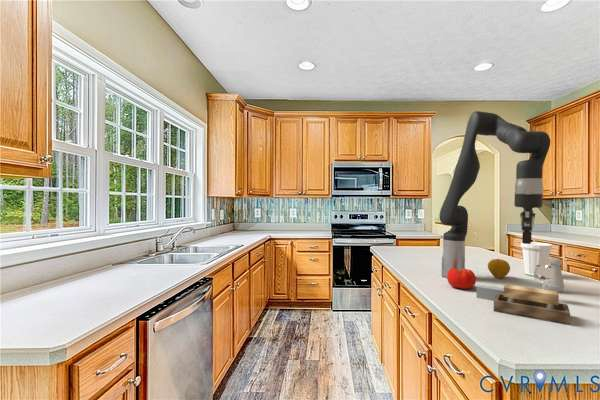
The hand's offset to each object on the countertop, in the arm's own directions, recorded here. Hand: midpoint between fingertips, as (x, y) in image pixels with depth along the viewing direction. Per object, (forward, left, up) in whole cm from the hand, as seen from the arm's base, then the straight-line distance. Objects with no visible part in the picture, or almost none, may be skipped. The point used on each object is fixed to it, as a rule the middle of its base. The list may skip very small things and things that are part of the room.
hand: (526, 242), depth 106 cm
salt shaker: (+9, +34, -22) cm, 42 cm away
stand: (-9, +7, -22) cm, 25 cm away
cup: (+3, +63, -22) cm, 67 cm away
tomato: (-22, +17, -23) cm, 36 cm away
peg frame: (+1, -3, -22) cm, 22 cm away
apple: (-11, +46, -22) cm, 52 cm away
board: (+1, -3, -18) cm, 18 cm away
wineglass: (+5, +18, -22) cm, 29 cm away
